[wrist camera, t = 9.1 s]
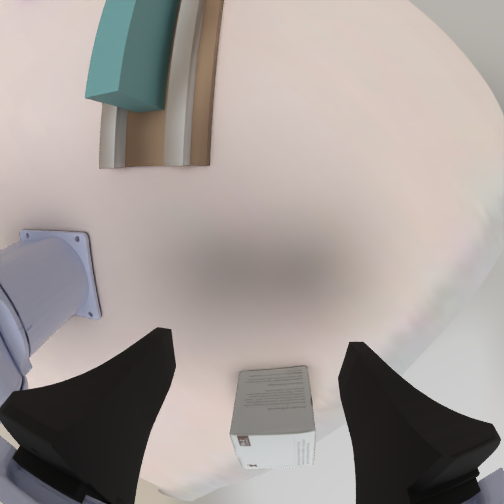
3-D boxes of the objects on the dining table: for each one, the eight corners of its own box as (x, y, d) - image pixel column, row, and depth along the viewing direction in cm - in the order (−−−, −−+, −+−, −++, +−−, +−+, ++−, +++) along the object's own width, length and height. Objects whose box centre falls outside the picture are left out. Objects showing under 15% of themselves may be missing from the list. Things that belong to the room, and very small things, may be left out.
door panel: (137, 112, 15) (84, 97, 10) (155, -3, 12) (122, -42, 6) (164, 110, 15) (118, 90, 10) (181, -8, 12) (153, -51, 6)
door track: (106, 167, 18) (87, 170, 15) (137, -23, 12) (125, -36, 9) (209, 165, 17) (200, 165, 15) (229, -38, 12) (224, -55, 9)
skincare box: (308, 405, 24) (315, 466, 17) (248, 410, 24) (241, 470, 17) (307, 363, 22) (317, 431, 15) (237, 369, 22) (226, 436, 16)
